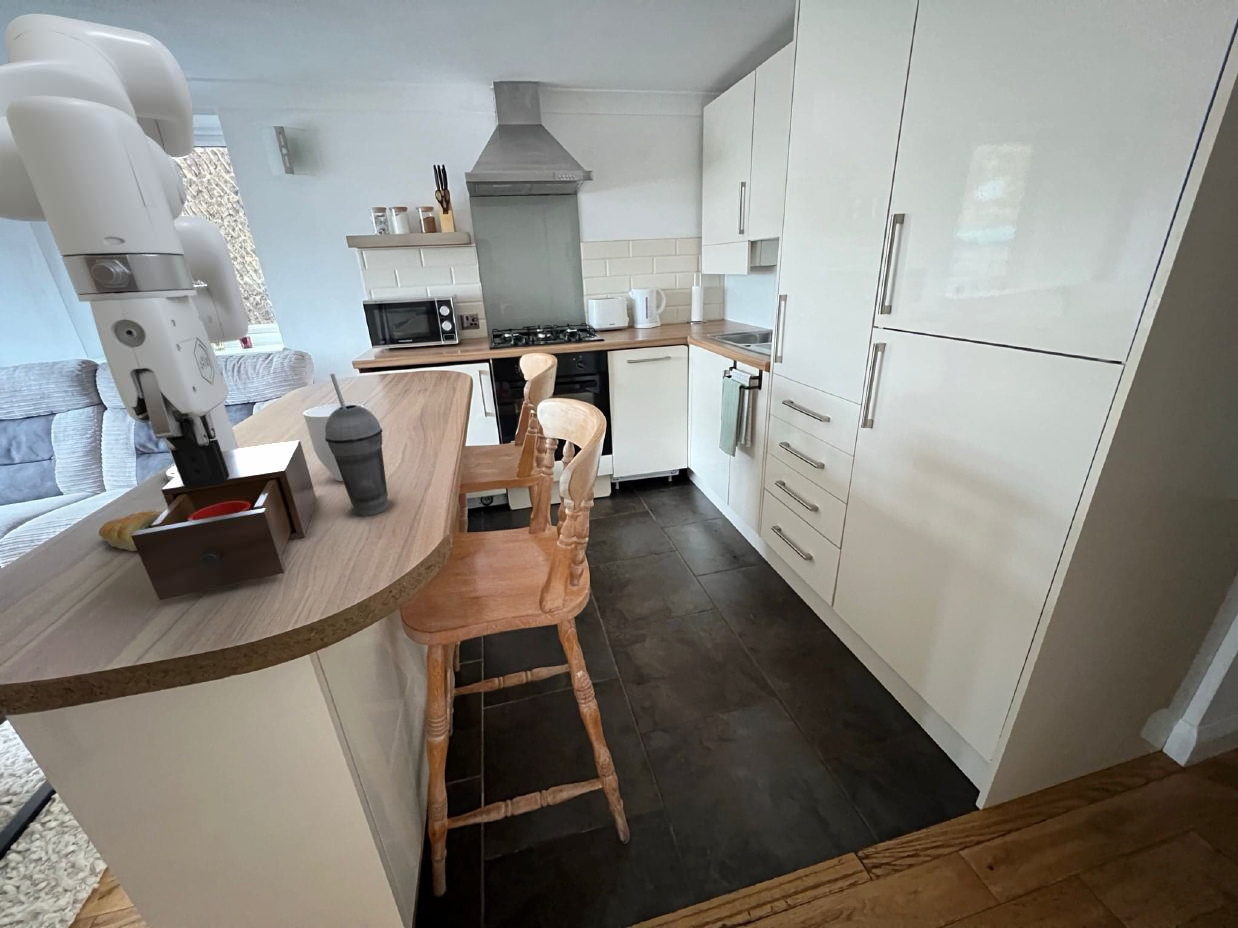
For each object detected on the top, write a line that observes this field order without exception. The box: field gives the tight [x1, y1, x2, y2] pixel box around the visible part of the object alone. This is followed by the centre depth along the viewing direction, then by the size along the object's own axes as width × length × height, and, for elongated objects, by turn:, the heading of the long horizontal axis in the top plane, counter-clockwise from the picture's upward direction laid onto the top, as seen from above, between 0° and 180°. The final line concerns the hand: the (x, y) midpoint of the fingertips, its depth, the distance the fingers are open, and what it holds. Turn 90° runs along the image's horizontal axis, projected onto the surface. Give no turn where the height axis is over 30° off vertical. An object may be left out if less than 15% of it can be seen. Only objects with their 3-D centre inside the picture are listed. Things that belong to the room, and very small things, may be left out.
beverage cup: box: [325, 373, 389, 517], centre depth 71 cm, size 7×7×20 cm
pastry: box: [98, 509, 164, 552], centre depth 68 cm, size 9×7×4 cm
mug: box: [302, 402, 365, 482], centre depth 86 cm, size 12×9×12 cm
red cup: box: [188, 500, 253, 522], centre depth 59 cm, size 6×6×6 cm
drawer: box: [131, 477, 293, 601], centre depth 59 cm, size 14×11×8 cm
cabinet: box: [160, 440, 317, 541], centre depth 69 cm, size 14×13×10 cm
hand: (208, 483), depth 48 cm, fingers closed
